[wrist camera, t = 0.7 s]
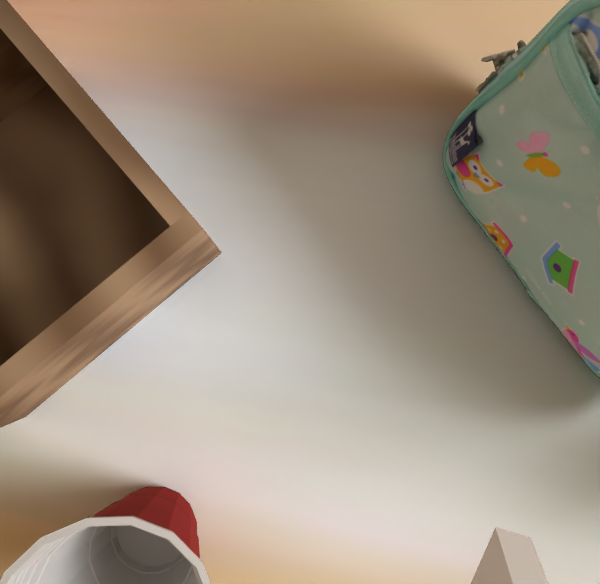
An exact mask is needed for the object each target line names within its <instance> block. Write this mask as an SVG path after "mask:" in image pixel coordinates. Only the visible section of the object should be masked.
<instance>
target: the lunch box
mask: <svg viewBox="0 0 600 584" xmlns="http://www.w3.org/2000/svg"><path fill="white" fill-rule="evenodd" d="M517 45H518V50H517V51H516V52H515V49H514V50H509V51H505V52H502V53H499V54H494V55H490V56H487V57H484V58H482V60H481V61H484V62H488V61H491V60H493V63H494V66H495V70H496V72H492V73H491V74H490V75H489V77H488V78H486V80H485V81H484V83H482V84H481V85H479V87H478V88H477V89H476V91H477V92H479V95H478V96H477V97H476V98H475V99H474V100H473V101H472V102H471V103H470V104H469V105H468V106H467V107H466V108H465V109H464V111H463V112H462V113H461V114H460V115H459V117H458V118H457V119H456V121H455V122H454V124H453V126H452V128H451V129H450V131H449V133H448V136H447V138H446V141H445V144H444V150H443V163H444V168H445V172H446V175H447V177H448V179H449V182H450V184H451V186H452V187H453V189H454V191H455V193H456V194H457V196H458V197H459V199H460V200H461V202H462V203H463V204H464V206H465V207H466V209H467V210H468V211H469V212H470V214H471V215H472V216H473V217H474V219H475V220H476V221H477V222H478V224H479V225H480V226H481V227H482V229H483V230H484V232H485V233H486V234H487V236H488V237H489V238H490V239H491V241H492V242H493V243H494V244H495V246H496V247H497V248H498V250H499V251H500V252H501V254H502V255H503V256H504V258H505V259H506V260H507V262H508V263H509V264H510V266H511V267H512V268H513V270H514V271H515V273H516V274H517V275H518V277H519V278H520V280H521V281H522V283H523V284H524V285H525V287H526V288H527V290H526V291H527V292H528V294H529V295H530V296H531V297H532V299H533V300H534V301H535V302H536V303H537V304H538V305H539V306H540V307H541V308H542V310H543V311H544V312H545V313H546V314H547V315H548V317H549V318H550V319H551V320H552V321H553V323H554V324H555V325H556V326H557V328H558V329H559V330H560V331H561V332H562V334H563V335H564V336H565V337H566V339H567V340H568V341H569V343H570V344H571V345H572V347H573V348H574V349H575V350H576V351H577V353H578V354H579V355H580V356H581V358H582V359H583V360H584V362H585V363H586V364H587V365H588V366H589V367H590V369H591V370H592V371H593V372H594V373H595V374H596V375H597V376H598V377H599V378H600V0H570V1H569V2H568V3H567V4H566V5H565V6H564V7H563V8H562V9H561V10H560V11H559V12H558V13H557V14H556V15H555V16H554V17H553V18H552V19H551V20H550V22H549V23H548V24H547V25H546V26H545V27H544V28H543V29H542V30H541V31H540V32H539V33H538V34H537V35H536V36H535V37H534V38H533V39H532V40H531V41H530V42H529V43H528V44H527V45H526V44H525V43H524V42H523V41H522V40H520V41H519V42H518V43H517Z"/></svg>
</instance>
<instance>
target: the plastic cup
mask: <svg viewBox="0 0 600 584" xmlns="http://www.w3.org/2000/svg"><path fill="white" fill-rule="evenodd" d="M0 584H211V583H210V580H209V578H208V575H207V572H206V570H205V567H204V564H203V562H202V561H201V560H200V554H199V540H198V536H197V522H196V519H195V516H194V514H193V511H192V508H191V506H190V504H189V503H188V502H187V501H186V500H185V499H184V498H183V497H182V496H181V495H180V493H178V492H175V491H173V490H171V489H168V488H166V487H146V488H143V489H141V490H138V491H136V492H133V493H131V494H129V495H128V496H126V497H125V498H123V499H122V500H120V501H117V502H115V503H113V504H111V505H110V506H108V507H107V508H105V509H104V510H102V511H100V512H99V513H97V514H96V515H94V516H93V517H88V518H85V519H83V520H80V521H78V522H76V523H73V524H71V525H69V526H66V527H64V528H62V529H59V530H57V531H54V532H52V533H50V534H47V535H45V536H43V537H41V538H40V539H39V540H37V541H36V542H35V543H34V544H33V545H32V546H31V547H30V548H29V549H28V550H27V551H26V552H25V553H24V554H23V555H22V556H21V557H20V558H18V559H17V560H16V561H15V562H14V563H13V564H12V565H11V566H10V567H9V568H8V569H7V570H6V571H5V572H4V574H3V576H2V578H1V580H0Z"/></svg>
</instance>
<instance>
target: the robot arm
mask: <svg viewBox="0 0 600 584" xmlns="http://www.w3.org/2000/svg"><path fill="white" fill-rule="evenodd" d="M471 584H548V581H547V579H546V576H545V574H544V571H543V568H542V566H541V563H540V561H539V558H538V556H537V553H536V551H535V548H534V546H533V543H532V540H531V538H529V537H526V536H522V535H519V534H516V533H512V532H509V531H506V530H502V529H499V528H495V530H494V532H493V535H492V537H491V539H490V541H489V544H488V546H487V548H486V550H485V553H484V555H483V557H482V559H481V562H480V564H479V566H478V568H477V571H476V573H475V575H474V577H473V580H472V582H471Z"/></svg>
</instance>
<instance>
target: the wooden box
mask: <svg viewBox="0 0 600 584" xmlns="http://www.w3.org/2000/svg"><path fill="white" fill-rule="evenodd" d="M221 253H222V252H221V251H220V250H219V249H218V247H217V246H216V245H215V244H214V242H213V241H212V240H211V238H210V237H209V236H208V235H207V233H206V232H205V231H204V229H203V228H202V227H201V226H200V225H199V224H198V222H197V221H196V220H195V219H194V218H193V217H192V215H191V214H190V213H189V212H188V211H187V210H186V208H185V207H184V206H183V205H182V204H181V203H180V201H179V200H178V199H177V198H176V197H175V196H174V194H173V193H172V192H171V191H170V190H169V189H168V187H167V186H166V185H165V184H164V183H163V182H162V180H161V179H160V178H159V177H158V176H157V175H156V174H155V172H154V171H153V170H152V169H151V168H150V167H149V165H148V164H147V163H146V162H145V161H144V160H143V158H142V157H141V156H140V155H139V154H138V153H137V151H136V150H135V149H134V148H133V147H132V146H131V144H130V143H129V142H128V141H127V140H126V139H125V137H124V136H123V135H122V134H121V133H120V132H119V130H118V129H117V128H116V127H115V126H114V125H113V123H112V122H111V121H110V120H109V119H108V118H107V116H106V115H105V114H104V113H103V112H102V111H101V110H100V108H99V107H98V106H97V105H96V104H95V103H94V101H93V100H92V99H91V98H90V97H89V96H88V94H87V93H86V92H85V91H84V90H83V89H82V87H81V86H80V85H79V84H78V83H77V82H76V80H75V79H74V78H73V77H72V76H71V75H70V73H69V72H68V71H67V70H66V69H65V68H64V66H63V65H62V64H61V63H60V62H59V61H58V59H57V58H56V57H55V56H54V55H53V54H52V52H51V51H50V50H49V49H48V48H47V47H46V45H45V44H44V43H43V42H42V41H41V40H40V39H39V37H38V36H37V35H36V34H35V33H34V32H33V30H32V29H31V28H30V27H29V26H28V25H27V23H26V22H25V21H24V20H23V19H22V18H21V16H20V15H19V14H18V13H17V12H16V11H15V9H14V8H13V7H12V6H11V5H10V4H9V2H8V1H7V0H0V428H1V427H3V426H5V425H8V424H10V423H12V422H15V421H17V420H19V419H22V418H24V417H26V416H27V415H28V414H29V413H31V412H32V411H33V410H34V409H35V408H37V407H38V406H39V405H40V404H41V403H43V402H44V401H45V400H46V399H47V398H49V397H50V396H51V395H52V394H53V393H55V392H56V391H57V390H58V389H59V388H61V387H62V386H63V385H64V384H65V383H66V382H68V381H69V380H70V379H71V378H72V377H74V376H75V375H76V374H77V373H78V372H80V371H81V370H82V369H83V368H84V367H86V366H87V365H88V364H89V363H90V362H92V361H93V360H94V359H95V358H96V357H98V356H99V355H100V354H101V353H102V352H104V351H105V350H106V349H107V348H108V347H109V346H111V345H112V344H113V343H114V342H115V341H117V340H118V339H119V338H120V337H121V336H123V335H124V334H125V333H126V332H127V331H129V330H130V329H131V328H132V327H133V326H135V325H136V324H137V323H138V322H139V321H141V320H142V319H143V318H144V317H145V316H147V315H148V314H149V313H150V312H151V311H152V310H154V309H155V308H156V307H157V306H158V305H160V304H161V303H162V302H163V301H164V300H166V299H167V298H168V297H169V296H170V295H172V294H173V293H174V292H175V291H176V290H178V289H179V288H180V287H181V286H182V285H184V284H185V283H186V282H187V281H188V280H190V279H191V278H192V277H193V276H194V275H195V274H197V273H198V272H199V271H200V270H201V269H203V268H204V267H205V266H206V265H207V264H209V263H210V262H211V261H212V260H213V259H215V258H216V257H217V256H218V255H219V254H221Z"/></svg>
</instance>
